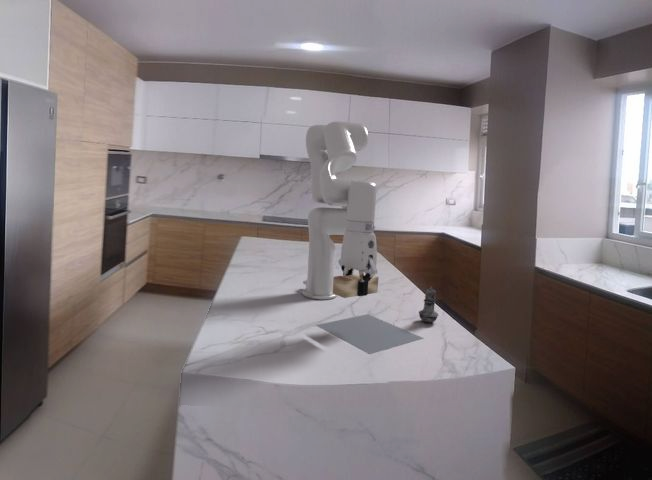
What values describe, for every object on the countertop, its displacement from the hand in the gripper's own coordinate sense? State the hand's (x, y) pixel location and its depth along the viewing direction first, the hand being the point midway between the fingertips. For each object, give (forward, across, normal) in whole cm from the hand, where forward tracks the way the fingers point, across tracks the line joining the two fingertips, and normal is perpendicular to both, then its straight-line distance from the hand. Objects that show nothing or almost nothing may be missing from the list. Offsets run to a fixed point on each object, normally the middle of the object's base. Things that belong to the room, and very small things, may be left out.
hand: (355, 292), depth 112 cm
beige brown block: (0, 0, 0) cm, 0 cm away
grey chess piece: (+11, -7, -24) cm, 27 cm away
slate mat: (+11, -4, -3) cm, 12 cm away
